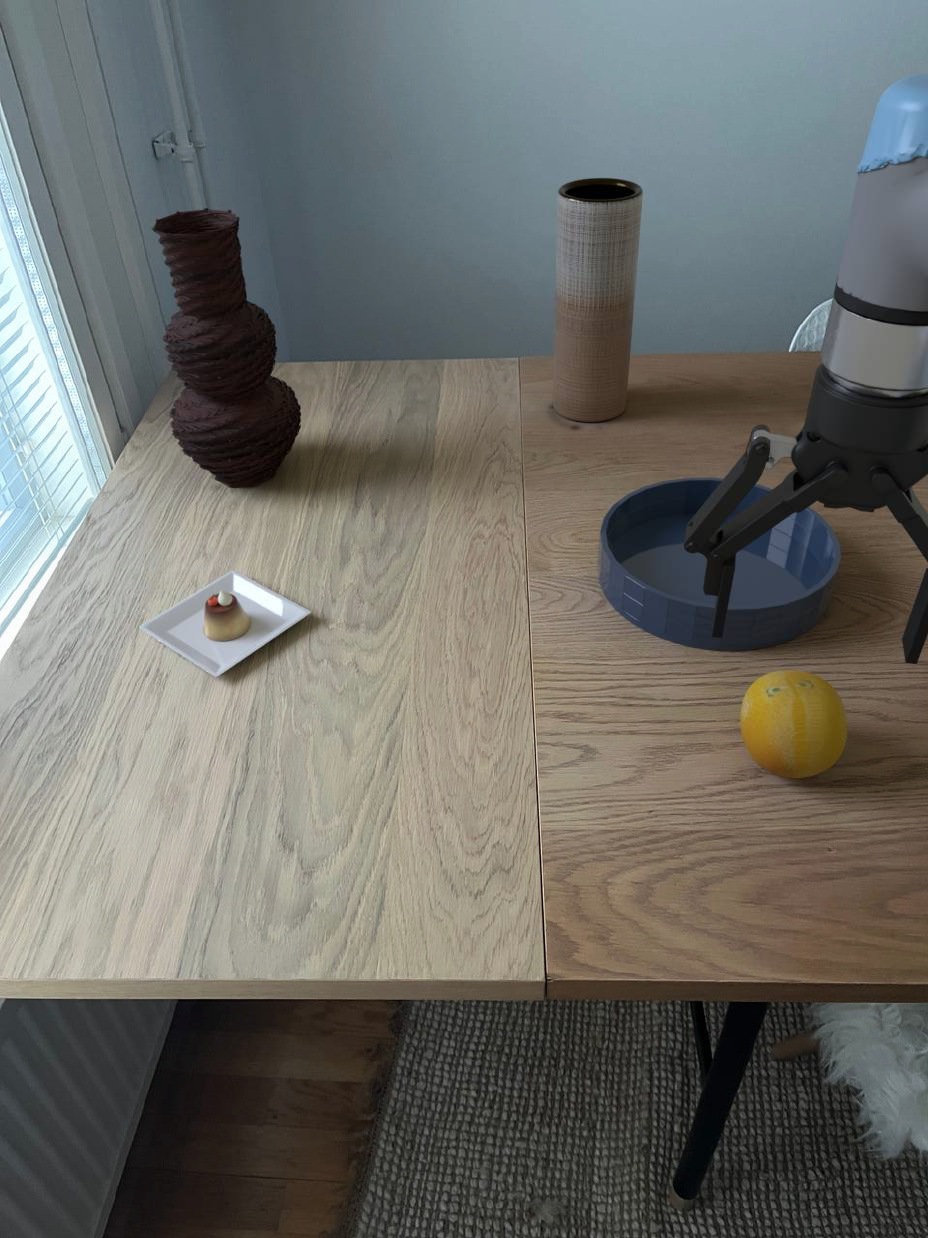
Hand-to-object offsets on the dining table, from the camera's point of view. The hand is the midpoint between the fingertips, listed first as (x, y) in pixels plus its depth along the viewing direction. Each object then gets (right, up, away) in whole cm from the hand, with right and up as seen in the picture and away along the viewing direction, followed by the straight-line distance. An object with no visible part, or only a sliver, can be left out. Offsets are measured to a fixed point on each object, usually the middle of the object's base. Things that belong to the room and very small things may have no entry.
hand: (811, 639), depth 70 cm
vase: (-53, +20, +48) cm, 74 cm away
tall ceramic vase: (-9, +30, +58) cm, 66 cm away
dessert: (-49, 0, +24) cm, 55 cm away
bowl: (0, +6, +27) cm, 28 cm away
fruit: (+1, -10, +8) cm, 13 cm away
